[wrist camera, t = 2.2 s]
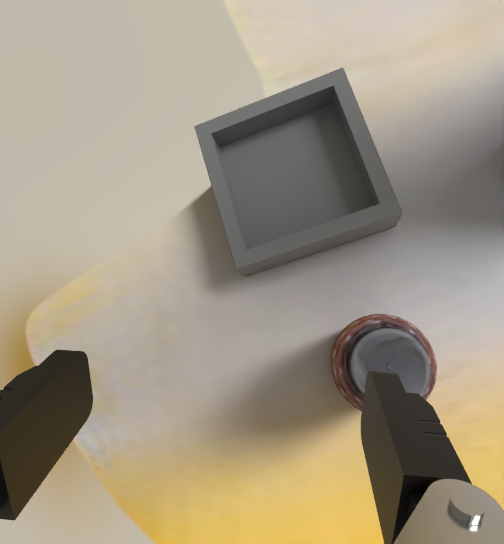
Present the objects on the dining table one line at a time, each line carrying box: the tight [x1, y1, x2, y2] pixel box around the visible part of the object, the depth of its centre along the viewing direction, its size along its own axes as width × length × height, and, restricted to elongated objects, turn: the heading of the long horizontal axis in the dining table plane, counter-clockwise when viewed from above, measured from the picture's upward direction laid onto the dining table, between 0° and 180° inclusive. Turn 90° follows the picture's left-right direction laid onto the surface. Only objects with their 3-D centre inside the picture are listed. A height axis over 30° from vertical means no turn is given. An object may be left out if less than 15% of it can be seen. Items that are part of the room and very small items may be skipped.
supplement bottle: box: [331, 314, 437, 411], centre depth 26 cm, size 6×6×11 cm
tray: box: [195, 68, 402, 276], centre depth 33 cm, size 13×13×4 cm
